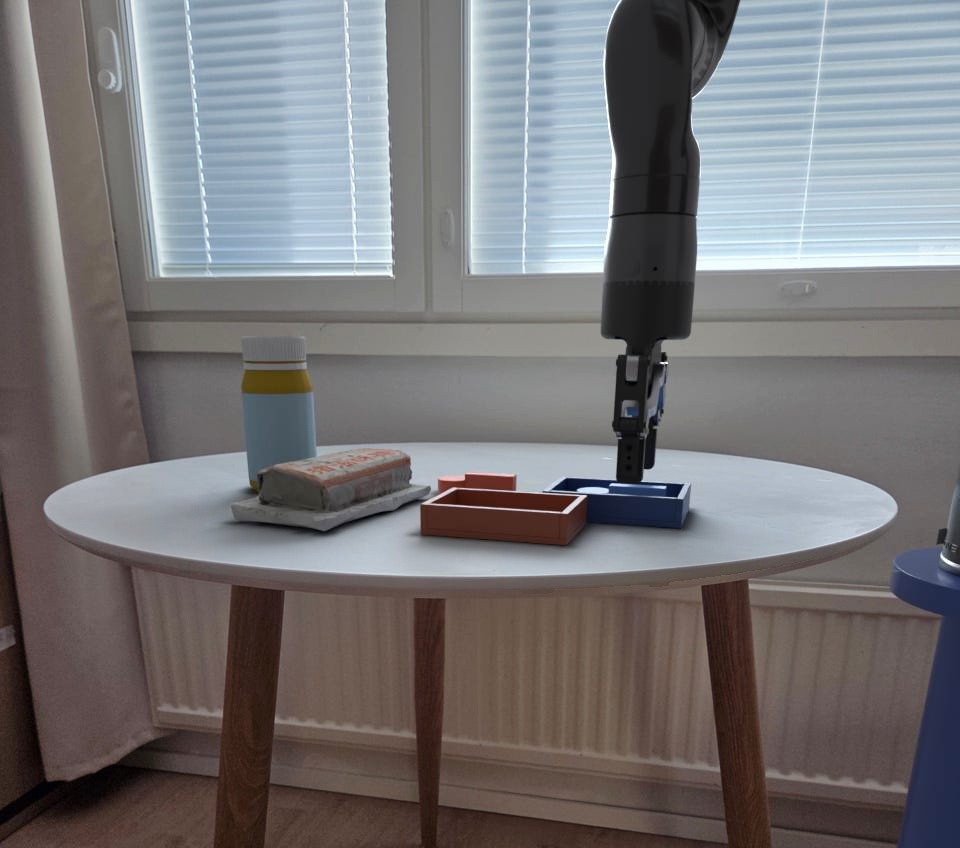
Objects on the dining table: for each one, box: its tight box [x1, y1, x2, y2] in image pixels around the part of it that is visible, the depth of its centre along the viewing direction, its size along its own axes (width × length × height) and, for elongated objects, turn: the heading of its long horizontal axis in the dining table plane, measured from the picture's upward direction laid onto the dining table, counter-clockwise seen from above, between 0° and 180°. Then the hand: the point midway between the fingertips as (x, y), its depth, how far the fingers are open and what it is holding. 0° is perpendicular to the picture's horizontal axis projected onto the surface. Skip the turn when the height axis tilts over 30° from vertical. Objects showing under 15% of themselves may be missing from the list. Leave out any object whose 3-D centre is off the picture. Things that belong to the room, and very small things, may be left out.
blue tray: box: [541, 476, 692, 529], centre depth 79 cm, size 12×8×2 cm
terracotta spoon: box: [437, 471, 517, 495], centre depth 87 cm, size 8×3×2 cm, turn 73°
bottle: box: [240, 335, 318, 493], centre depth 88 cm, size 7×7×15 cm
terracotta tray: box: [419, 488, 587, 546], centre depth 73 cm, size 12×8×2 cm
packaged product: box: [229, 447, 432, 532], centre depth 80 cm, size 18×5×10 cm
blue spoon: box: [577, 483, 667, 497], centre depth 79 cm, size 8×3×2 cm, turn 73°
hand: (636, 475), depth 78 cm, fingers open, 8 cm apart
